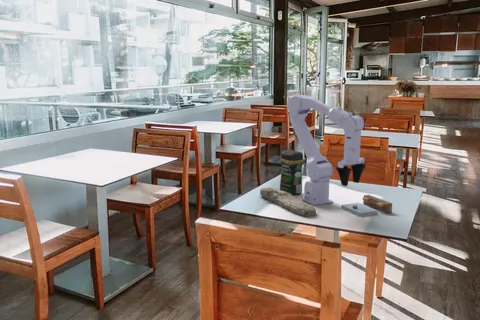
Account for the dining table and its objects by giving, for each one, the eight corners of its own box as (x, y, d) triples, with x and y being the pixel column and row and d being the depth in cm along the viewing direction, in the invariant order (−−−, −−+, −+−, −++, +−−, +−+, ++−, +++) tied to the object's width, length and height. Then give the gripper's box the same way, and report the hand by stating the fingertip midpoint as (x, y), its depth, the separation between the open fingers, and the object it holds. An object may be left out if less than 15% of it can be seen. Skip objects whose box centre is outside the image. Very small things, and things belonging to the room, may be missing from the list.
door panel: (359, 217, 156) (360, 210, 155) (341, 209, 166) (341, 202, 165) (377, 215, 159) (377, 207, 159) (358, 207, 169) (358, 200, 168)
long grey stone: (299, 223, 154) (322, 220, 158) (301, 209, 153) (324, 206, 157) (253, 194, 184) (273, 192, 188) (254, 182, 183) (274, 180, 187)
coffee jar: (276, 191, 189) (277, 149, 186) (290, 188, 194) (291, 147, 190) (291, 196, 181) (292, 152, 178) (305, 193, 186) (306, 151, 182)
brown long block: (383, 213, 159) (383, 204, 158) (360, 204, 170) (360, 195, 170) (391, 212, 160) (392, 203, 160) (368, 203, 172) (368, 194, 171)
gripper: (350, 152, 153) (348, 189, 156) (372, 147, 163) (370, 182, 165) (333, 149, 158) (332, 185, 161) (356, 145, 168) (354, 179, 171)
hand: (350, 184), depth 164 cm, fingers open, 7 cm apart
